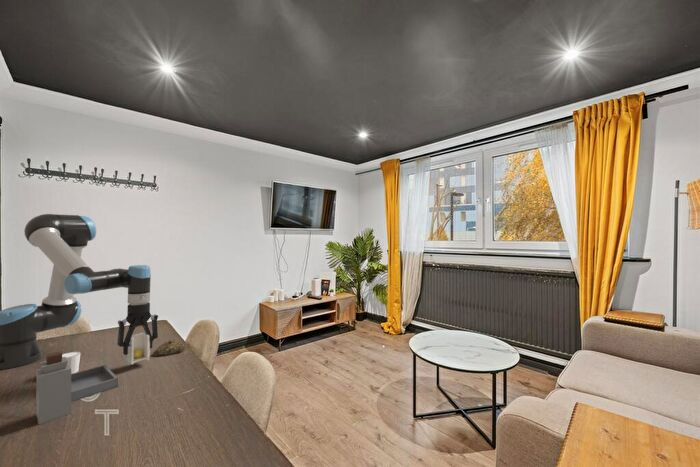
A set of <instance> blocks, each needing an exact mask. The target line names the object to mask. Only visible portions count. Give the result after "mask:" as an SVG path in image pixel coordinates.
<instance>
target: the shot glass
mask: <svg viewBox="0 0 700 467" xmlns="http://www.w3.org/2000/svg"><path fill="white" fill-rule="evenodd" d="M62 357H66V359H67V360H68V364H69V366H70V367H71V374H73V373H76V372H79V368H80V363H81V362H80V359H81V351H71V352H66V353H62Z"/></svg>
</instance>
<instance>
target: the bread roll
mask: <svg viewBox="0 0 700 467" xmlns="http://www.w3.org/2000/svg"><path fill="white" fill-rule="evenodd" d="M185 348H186V347H185V345H184V342H182V341H181V340H177V339H170V340H169V341H165V342H163V343H162V344H161V345H159V347H157V348H156V349H155V351H153V353H152V355H153V356H154V357H162V356H164V355H165V356H171V354H172V355H177V354H180V353H183V352H184V351H185ZM176 353H177V354H176ZM165 356H164V357H165Z"/></svg>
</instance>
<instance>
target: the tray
mask: <svg viewBox="0 0 700 467" xmlns="http://www.w3.org/2000/svg"><path fill="white" fill-rule="evenodd" d="M118 387H119V378H118V376H117V375H116V374H115V373H114V372H113V371H112V370H111V369H110V368H109V367H108V366H107V365H106V364H104V365H99V366H95V367H92V368H88V369H84V370H81V371H78V372H76V373H73V374H71V403H72V402H74V401H77V400H81V399H83V398H87V397H90V396H93V395H96V394H100V393H102V392H105V391H108V390H112V389H114V388H115V389H116V388H118Z"/></svg>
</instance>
